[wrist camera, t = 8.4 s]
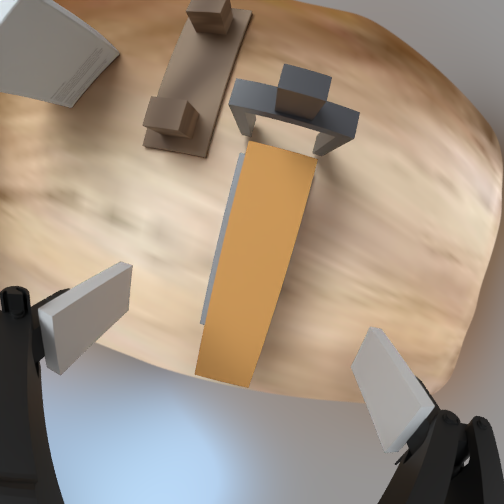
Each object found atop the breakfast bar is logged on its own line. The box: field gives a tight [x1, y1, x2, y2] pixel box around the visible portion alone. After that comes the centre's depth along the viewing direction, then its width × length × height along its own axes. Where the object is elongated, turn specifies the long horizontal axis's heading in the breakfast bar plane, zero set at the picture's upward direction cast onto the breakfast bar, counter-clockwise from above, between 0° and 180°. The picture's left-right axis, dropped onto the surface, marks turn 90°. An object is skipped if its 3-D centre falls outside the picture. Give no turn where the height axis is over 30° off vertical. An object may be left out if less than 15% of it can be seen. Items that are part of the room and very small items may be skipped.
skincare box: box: [0, 0, 119, 108], centre depth 13 cm, size 8×7×16 cm
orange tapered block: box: [195, 141, 318, 388], centre depth 18 cm, size 4×16×4 cm, turn 166°
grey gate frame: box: [229, 64, 360, 156], centre depth 15 cm, size 7×2×12 cm, turn 76°
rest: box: [143, 0, 252, 157], centre depth 19 cm, size 6×16×4 cm, turn 166°
